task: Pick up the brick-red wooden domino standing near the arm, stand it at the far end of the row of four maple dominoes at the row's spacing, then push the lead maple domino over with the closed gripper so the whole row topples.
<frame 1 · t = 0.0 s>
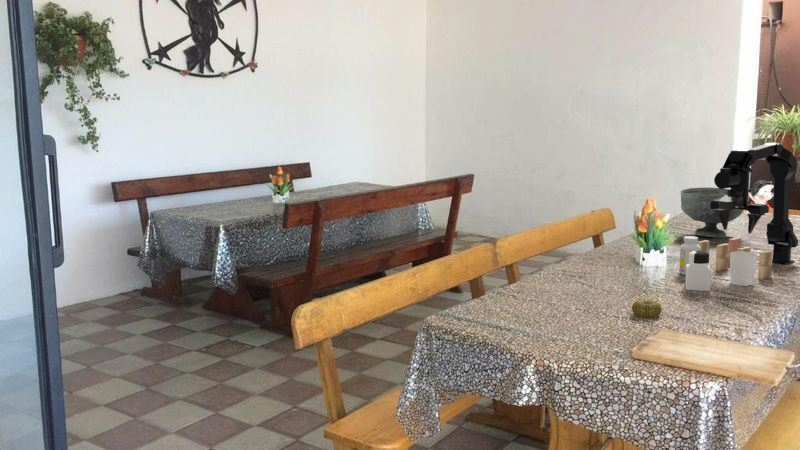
hand: (737, 231, 255), 15 cm above the table, tool pointing down, fingers open, 9 cm apart
white cup: (741, 284, 243), on the table
supplement bottle: (689, 274, 258), on the table
domino 3: (721, 269, 263), on the table
domino 5: (733, 262, 273), on the table
domino 2: (742, 273, 256), on the table
olive green ribbed ring: (646, 316, 211), on the table
domino 1: (764, 277, 249), on the table
decorative bowl: (711, 236, 325), on the table
medicine bottle: (697, 288, 238), on the table
domino 4: (702, 265, 269), on the table
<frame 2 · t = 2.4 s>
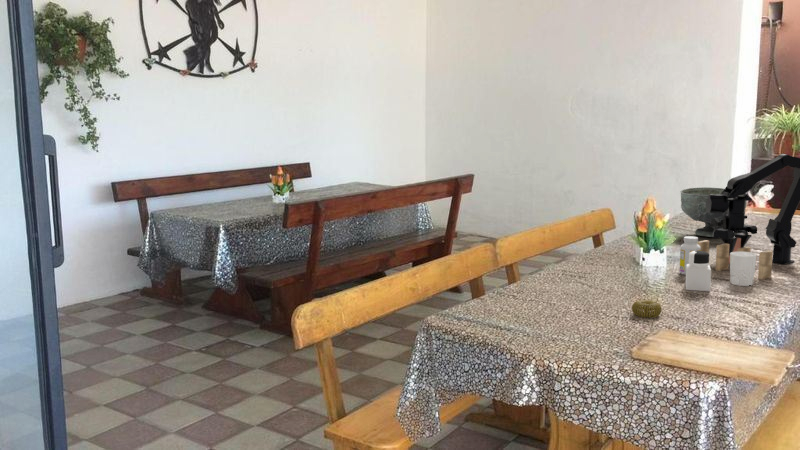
hand: (734, 254, 273), 3 cm above the table, tool pointing down, fingers closed on domino 5, 5 cm apart
domino 5: (733, 262, 273), on the table, touching gripper
everything else where it was.
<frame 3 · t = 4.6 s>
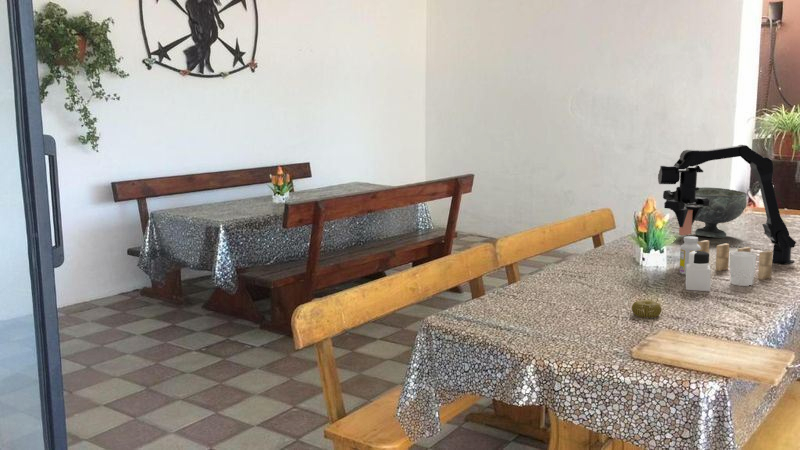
hand: (685, 226, 274), 13 cm above the table, tool pointing down, fingers closed on domino 5, 5 cm apart
domino 5: (685, 234, 274), point 10 cm above the table, touching gripper
everything else where it was.
when the fingers open (4 cm above the table, at t = 6.8 s): domino 5 stays where it is, on the table.
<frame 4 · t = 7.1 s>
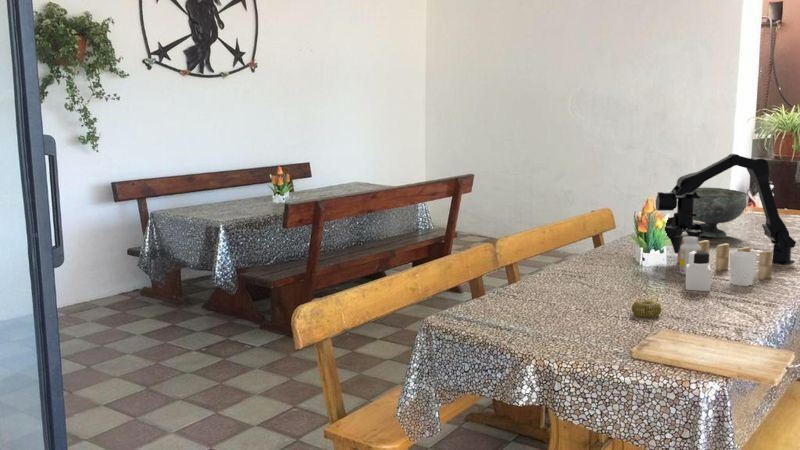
hand: (683, 251, 275), 4 cm above the table, tool pointing down, fingers open, 8 cm apart
domino 5: (683, 261, 276), on the table
everything else where it was.
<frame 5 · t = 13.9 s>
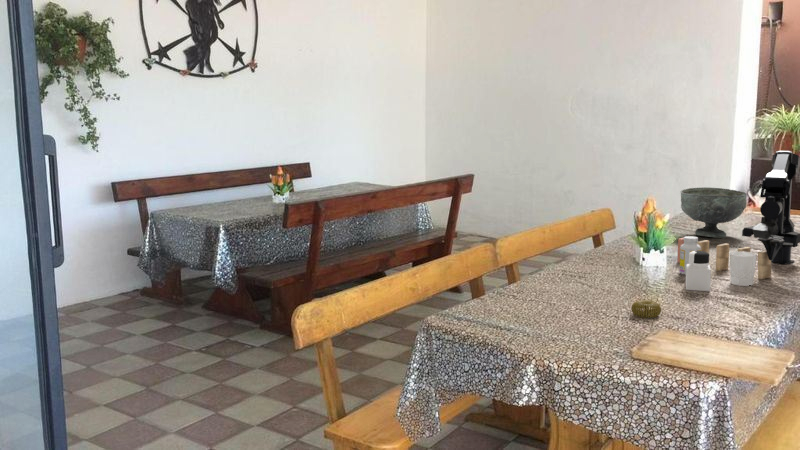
hand: (771, 260, 247), 6 cm above the table, tool pointing down, fingers closed
nothing on the table moved.
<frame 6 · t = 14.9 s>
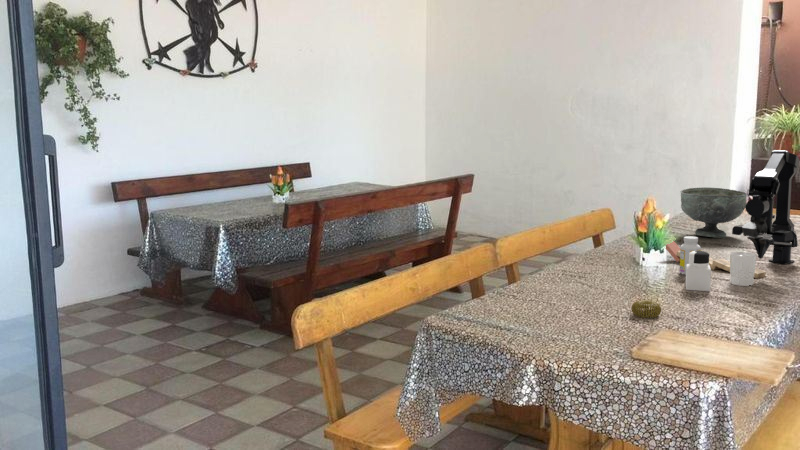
hand: (760, 258, 250), 6 cm above the table, tool pointing down, fingers closed
domino 3: (718, 266, 264), point 1 cm above the table, tilted 76°, touching domino 2, domino 4
domino 5: (682, 260, 276), point 1 cm above the table, tilted 50°
domino 2: (739, 270, 257), point 1 cm above the table, tilted 78°, touching domino 1, domino 3
domino 1: (761, 275, 250), point 1 cm above the table, tilted 79°, touching domino 2
domino 4: (700, 263, 270), point 1 cm above the table, tilted 72°, touching domino 3
everything else where it was.
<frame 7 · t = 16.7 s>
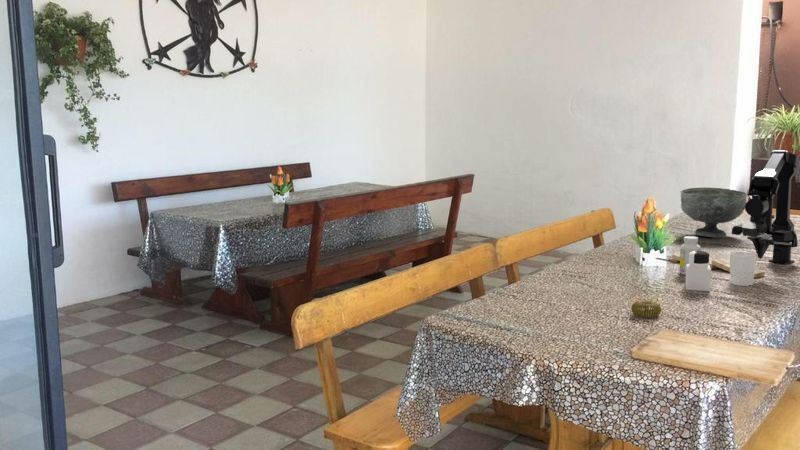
hand: (760, 257, 250), 6 cm above the table, tool pointing down, fingers closed
domino 5: (680, 260, 277), on the table, tilted 90°, touching domino 4
domino 4: (697, 262, 271), point 1 cm above the table, tilted 82°, touching domino 3, domino 5
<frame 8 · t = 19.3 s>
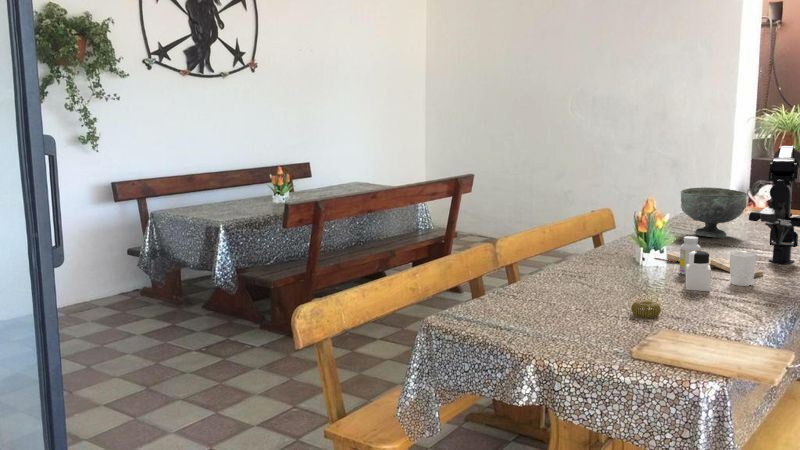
hand: (778, 244, 244), 12 cm above the table, tool pointing down, fingers closed
domino 5: (678, 260, 278), on the table, tilted 90°
domino 4: (693, 261, 273), point 1 cm above the table, tilted 81°, touching domino 3
at the end: domino 5 inside the target area (0.4 cm from its centre), on the table; domino 5 tilted 90°; domino 1 tilted 79° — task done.
